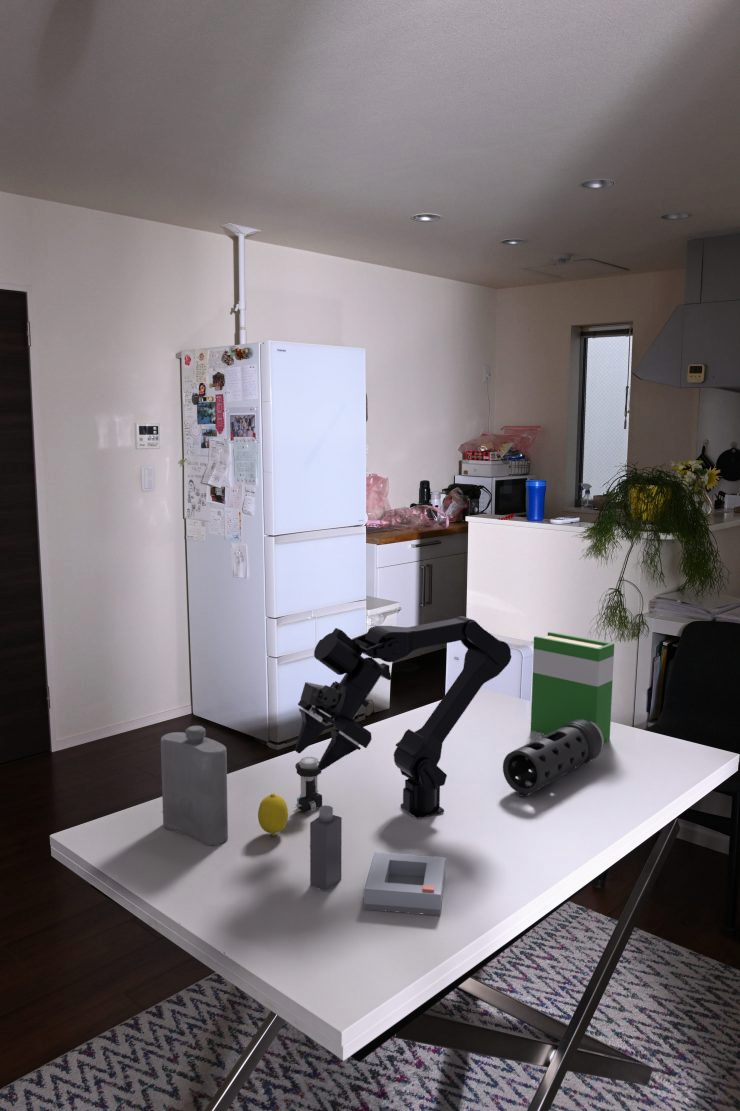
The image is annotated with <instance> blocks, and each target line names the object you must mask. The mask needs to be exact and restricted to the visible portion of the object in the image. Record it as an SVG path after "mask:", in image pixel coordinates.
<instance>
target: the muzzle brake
mask: <svg viewBox="0 0 740 1111" xmlns="http://www.w3.org/2000/svg"><path fill="white" fill-rule="evenodd" d="M603 746H604V743H603V734H602V732H601V730H600V728H599V727H598V726H597V725H596V724H595V723H593V722H592V721H589V720H583V719H575V720H572V721H570V722H568V723H566V724H564V725H563V726H562V727H561V728H559V729H557V730H555V731H553V732H551V733H549V734H547V735H545V734H544V735H542V736H541V737H539V738H537V739H535V740H532V741H531V742H528V743H526V744H524V745H522V746H521V747H518V748H517V749H514V750H513V751H510V752H509V753H508V754H506V756H505V757H504V759H503V762H502V773H503V775H504V776H503V777H504V779H505V781H506V783H507V784H508V785H509V786H510V788H511V789H513V790H514V791H515V792H517V793H518V795H519V796H520V797H524V798H525V797H527V796H528V795H530V794H533V793H535V791H537V790H540V789H541V788H543V787H545V786H547V785H549V784H550V783H552V782H553V781H555V780H557V779H559V778H561V777H562V776H564V775H565V774H569V773H571V772H572V771H574V770H576V769H577V768H578V767H580V766H583V765H586V764H588V763H590V762H591V761H593V760H594V759H597V757H599V755H600V754H601V751H602V749H603Z"/></svg>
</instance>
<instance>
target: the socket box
mask: <svg viewBox="0 0 740 1111" xmlns="http://www.w3.org/2000/svg"><path fill="white" fill-rule="evenodd" d="M445 879H446V857H444V856H434V855H432V856H431V855H418V854H417V855H416V854H408V853H407V854H406V853H392V852H391V853H390V852H378V851H374V852H373V855H372V859H371V863H370V866H369V870H368V873H367V876H366V880H365V883H364V887H363V910H364V911H365V910H367V911H377V910H382V911H381V912H389V911H399V912H398V913H401V912H409V913H408V914H413V913H423V914H422V915H425V914H431V915H430V916H437V915H442V905H443V897H444V890H445V889H444V888H445ZM385 910H386V911H385Z"/></svg>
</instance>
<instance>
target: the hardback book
mask: <svg viewBox="0 0 740 1111" xmlns="http://www.w3.org/2000/svg"><path fill="white" fill-rule="evenodd" d="M614 656H615V643H614V642H607V641H602V640H596V639H592V638H591V639H590V638H585V637H579V636H574V635H570V634H564V633H560V632H559V633H558V632H552V631H548V632H547V635H546V636H544V637H541V636H538V635H535V636H533V652H532V680H531V681H532V683H531V712H530V731H532V732H534V733H538V734H542V735H544V736H545V735H547V734H549V733H551V732H553V731H555V730H557V729H559V728H561V727H562V726H563V725H564V724H566V723H568V722H570V721H572V720H575V719H583V720H589V721H592V722H593V723H595V724H596V725H597V726H598V727H599V728H600V730H601V732H602V734H603V744H606V743H607V742H609V741H610V740H611V738H610V737H611V719H612V702H613V701H612V700H613V697H612V696H613V681H614V680H613V678H614V663H615V662H614V661H615V660H614V658H615V657H614Z"/></svg>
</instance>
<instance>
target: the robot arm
mask: <svg viewBox="0 0 740 1111" xmlns="http://www.w3.org/2000/svg"><path fill="white" fill-rule="evenodd" d="M453 642H454V643H455V642H461V644H462V646H464V647H465V648H466V649H467V650H466V652H465V654H464V660H463V668H462V670H461V672H460V673H459V675H458V676H457V677H456V678H455V680H454V682H453V683H452V685H451V686H450V688H449V689H448V690H447V691H446V692H445V694H444V696H443V698H441V700H440V701H439V703H438V704H437V706H436V707H435V709H434V710H433V711H432V713H431V715H430V716H429V717H428V719H427V720H426V721H425V723H424V724H423V726H422V727H420V728H419V729H417V730H416V731H413V730H412V729H410V728H409V729H407V730H406V731H405V732H404V734H403V735H402V737H401V739H400V740H399V741H398V742H397V743H396V744H395V747H396V748H395V750H394V752H393V762H394V764H395V766H396V767H397V769H399V770H400V773H401V775H402V776H403V777H406V778H407V779H404V788H402V789H403V790H402V803H400V807H401V808H402V809H403V810H404V811H406V812H407V813H409V815H411V816H412V817H414V818H415V819H421V818H425V817H426V818H427V817H430V816H433V815H438V814H443V813H444V812H445V808H443V807H441V806H440V804H441V803H440V799H441V797H440V796H441V787H443V786H445V783H446V780H447V777H448V775H447V774H446V772H444V771H443V770H442V769H441V768H440V767H439V766H438V764H439V762H440V761H441V758H442V750H443V749H442V748H443V744H444V741H445V740H446V739H447V738H448V735H449V734H450V733H451V732H452V730H453V728H454V727H455V725H456V724H457V723H458V721H459V720H460V718H461V717H462V715H463V714H464V712H465V711H466V710H467V708H469V706H470V704H471V703H472V701H473V700H474V698H475V697H476V696H477V694H478V693H479V691H480V690H481V688H482V687H483V685H484V684H486V683H488V682H490V681H491V680H492V679H494V678H496V677H498V676H499V675H500V674H501V673H502V672H503V671H504V670H505V669H506V668H507V666H508V665H509V664H510V662H511V659H512V651H511V648H510V645H509V643H507V642H506V641H503V640H500V639H498V638H497V637H495V636H494V635H493V634H491V633H490V632H488V631H487V630H486V629H484V628H483V627H482V626H481V625H480V624H479V623H478V622H477V621H476V620H474V619H471V618H469V617H467V616H462V615H461V616H460V615H459V616H457V617H455V618H450V619H445V620H439V621H434V622H429V623H425V624H424V623H423V624H418V625H411V626H408V627H407V626H406V627H405V626H403V627H402V626H394V625H374V626H372V627H370V628H369V629H368V631H367V632H365V633H363V634H361V635H359V636H357V637H354V638H350V637H349V636H348V635H347V634H346V632H345V631H343V630H342V629H340V628H337V627H336V628H334V629H333V631H332V632H330V633H328V634H326V635H325V636H324V637H322V638H321V639H320V640H318V642H317V643H316V646H315V648H314V651H313V656H314V659H316V660H317V661H319V663H321V664H323V665H324V666H325V667H327V668H328V669H330V670H331V671H332V672H333V673H335V674H336V675H337V676H342V675H344V676H343V677H342V679H341V680H340V681H339V682H338V681H333V682H332V683H331V685H330V686H329V685H326V684H325V685H322V684H317V683H313V682H308V681H306V682H304V685H303V688H302V692H301V696H300V700H299V701H298V703H297V705H298V706H299V707H300V708H298V709H299V710H298V711H299V713H300V716H301V720H302V722H301V727H300V731H299V734H298V738H297V740H296V741H297V742H296V745H295V748H294V751H295V752H296V753H297V754H301V753H302V752H304V750H306V749H307V748H308V747H309V746H310V745H311V744H312V743H313V742H314V741H315V740H316V739H317V738H319V736H320V735H321V734H322V733H323V732H324V731H326V729H327V728H328V726H327V725H325V724H328V723H330V724H332V725H333V726H334V728H335V729H336V730H338V731H339V732H338V731H336V730H335V729H334V728H333V727H332V728H330V735H331V736H330V737H331V739H330V741H329V744H328V746H327V747H326V749H325V751H324V752H323V755H322V756H321V758H320V761H319V765H318V768H319V769H321V771H323V770H325V769H327V768H328V767H330V766H331V765H333V764H334V763H336V762H338V761H340V760H341V759H342V758H344V757H345V756H347V755H349V754H351V753H353V752H354V751H357V750H359V751H360V750H361V749H362V747H364V748H365V749H367V748H368V747H369V744H370V743H371V742H372V740H373V739H372V738H373V737H372V732H371V731H369V730H368V729H367V728H365V727H364V726H362V725H361V724H359V723H358V722H357V721H356V720H355V719H354V718H355V717H356V716H357V714H358V713H359V711H360V709H361V708H362V707H364V708H367V707H368V705H369V704H370V702H368V700H367V699H368V697H369V695H370V694H371V692H372V691H373V689H374V687H375V686H376V684H377V682H379V679H380V678H383V679H386V681H391V680H392V674H391V672H390V671H391V670H390V665H389V664H386V663H393V662H394V663H395V662H396V661H399V660H401V659H403V658H406V657H408V656H409V655H411V653H413V652H414V651H416V650H419V649H425V648H431V647H435V646H439V645H444V644H449V643H453ZM363 655H365V656H366V657H363ZM375 659H379V660H381V661H383V662H382V663H379V662H378V661H376V660H375ZM384 662H385V663H384ZM360 746H361V747H360Z"/></svg>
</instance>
